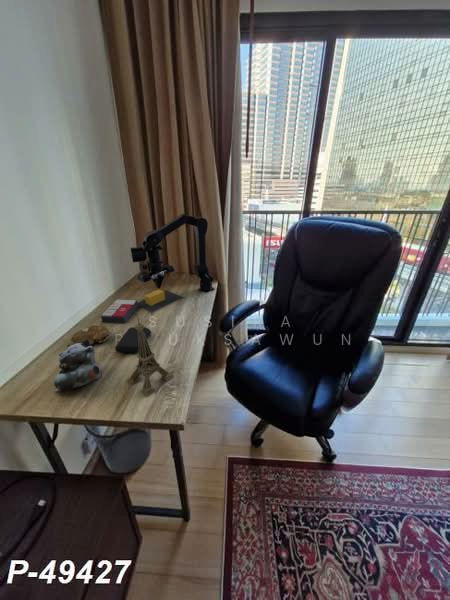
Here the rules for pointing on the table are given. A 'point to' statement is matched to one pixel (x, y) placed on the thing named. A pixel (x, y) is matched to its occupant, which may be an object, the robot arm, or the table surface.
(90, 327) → the decorative rock
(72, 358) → the grey lumpy figure
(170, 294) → the mat
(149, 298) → the block
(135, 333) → the carrying case
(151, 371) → the eiffel tower
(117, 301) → the red and white box
